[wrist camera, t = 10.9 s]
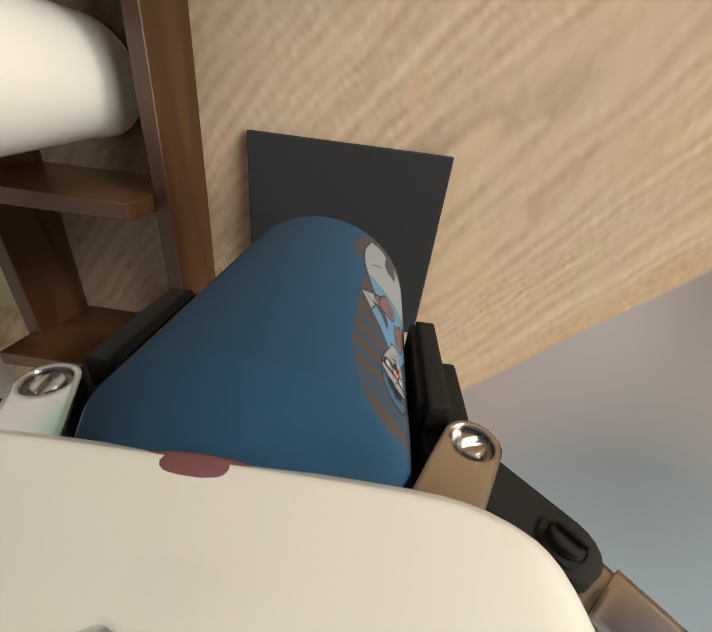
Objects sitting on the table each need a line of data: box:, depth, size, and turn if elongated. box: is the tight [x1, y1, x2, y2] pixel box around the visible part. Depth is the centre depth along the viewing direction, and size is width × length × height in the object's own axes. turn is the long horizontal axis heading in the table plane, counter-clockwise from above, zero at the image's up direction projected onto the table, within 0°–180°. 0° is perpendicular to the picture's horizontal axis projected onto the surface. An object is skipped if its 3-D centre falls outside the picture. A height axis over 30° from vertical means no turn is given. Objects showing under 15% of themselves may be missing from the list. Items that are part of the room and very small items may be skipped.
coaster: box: [247, 130, 454, 332], centre depth 21 cm, size 11×11×1 cm
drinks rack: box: [0, 0, 215, 368], centre depth 18 cm, size 11×20×6 cm, turn 173°
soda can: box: [75, 216, 413, 489], centre depth 11 cm, size 7×7×12 cm
